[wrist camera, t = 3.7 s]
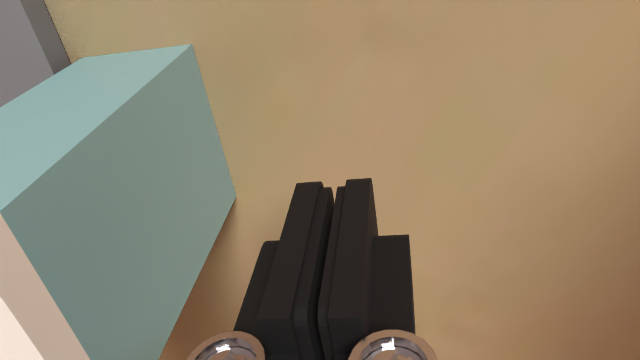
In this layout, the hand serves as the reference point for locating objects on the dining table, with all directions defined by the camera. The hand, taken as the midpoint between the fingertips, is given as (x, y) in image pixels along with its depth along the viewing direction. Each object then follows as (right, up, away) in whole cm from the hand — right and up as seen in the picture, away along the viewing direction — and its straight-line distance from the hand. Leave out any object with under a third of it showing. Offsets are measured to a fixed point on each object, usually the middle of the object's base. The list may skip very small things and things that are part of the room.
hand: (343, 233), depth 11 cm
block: (-6, +3, +6) cm, 9 cm away
